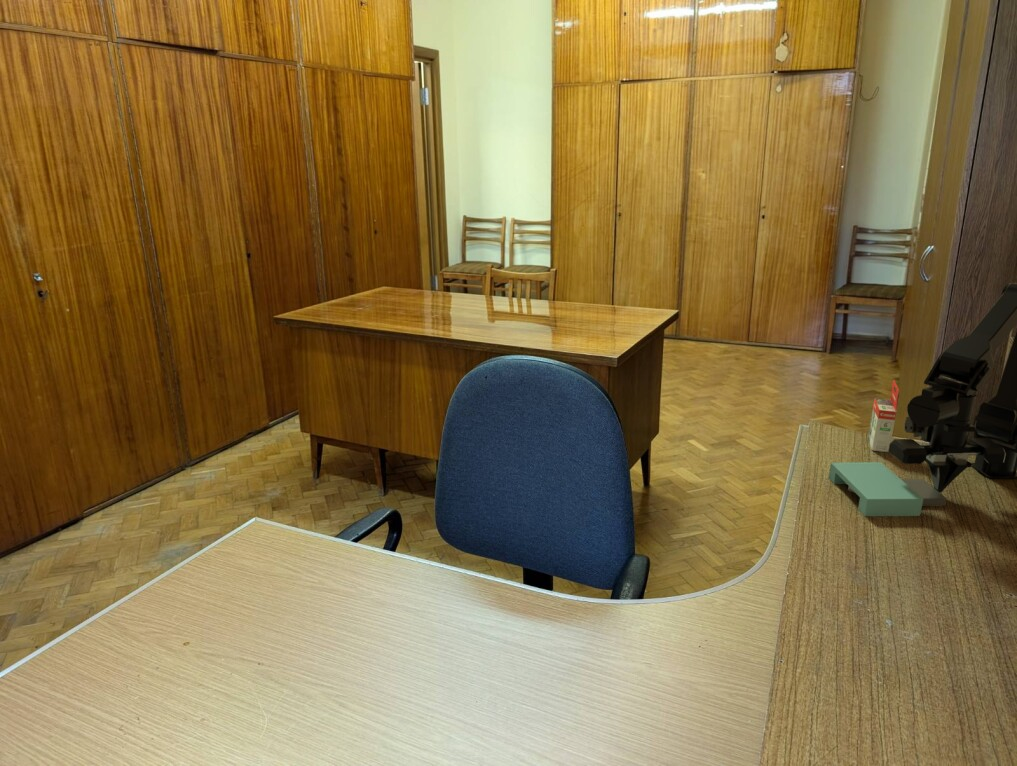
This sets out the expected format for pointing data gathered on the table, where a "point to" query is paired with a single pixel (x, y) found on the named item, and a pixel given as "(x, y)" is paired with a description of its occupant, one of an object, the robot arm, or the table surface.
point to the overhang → (877, 489)
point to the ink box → (883, 421)
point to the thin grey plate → (926, 492)
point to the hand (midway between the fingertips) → (937, 491)
